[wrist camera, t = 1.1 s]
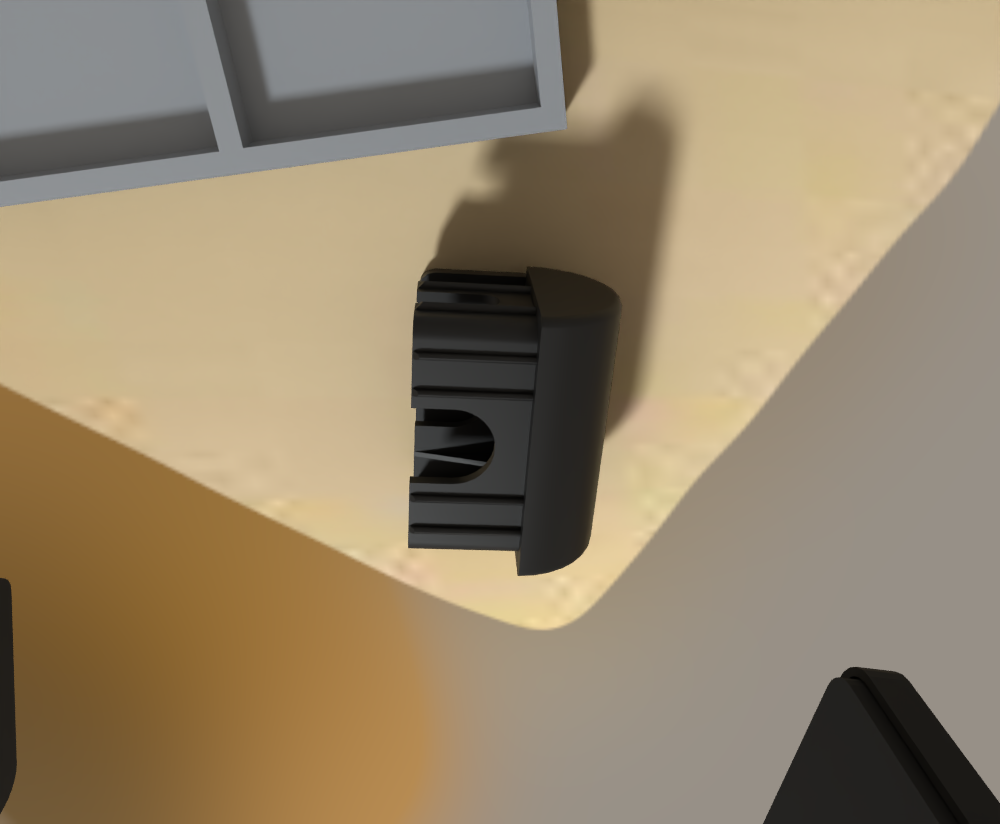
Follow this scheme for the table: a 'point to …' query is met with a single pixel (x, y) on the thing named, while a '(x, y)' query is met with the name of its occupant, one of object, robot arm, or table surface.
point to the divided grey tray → (259, 85)
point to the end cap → (510, 411)
